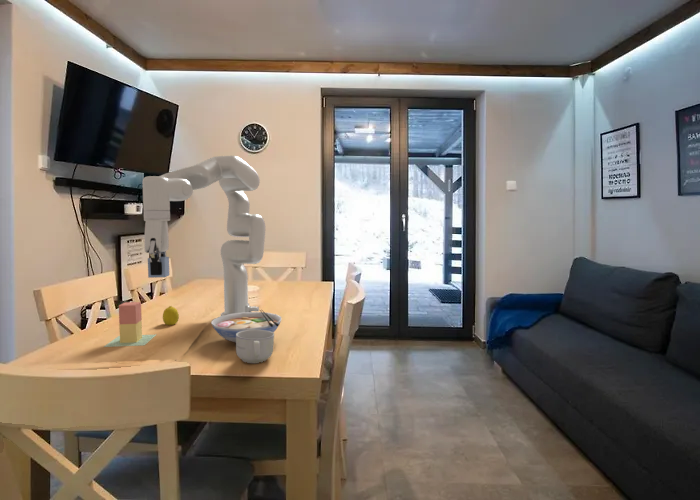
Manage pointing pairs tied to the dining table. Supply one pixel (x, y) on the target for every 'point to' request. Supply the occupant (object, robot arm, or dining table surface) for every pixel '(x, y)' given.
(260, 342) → the teacup
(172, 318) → the lemon
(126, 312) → the block brick
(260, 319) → the ramen bowl
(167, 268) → the block slate
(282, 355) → the dining table surface
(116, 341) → the baseplate
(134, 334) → the block ochre
